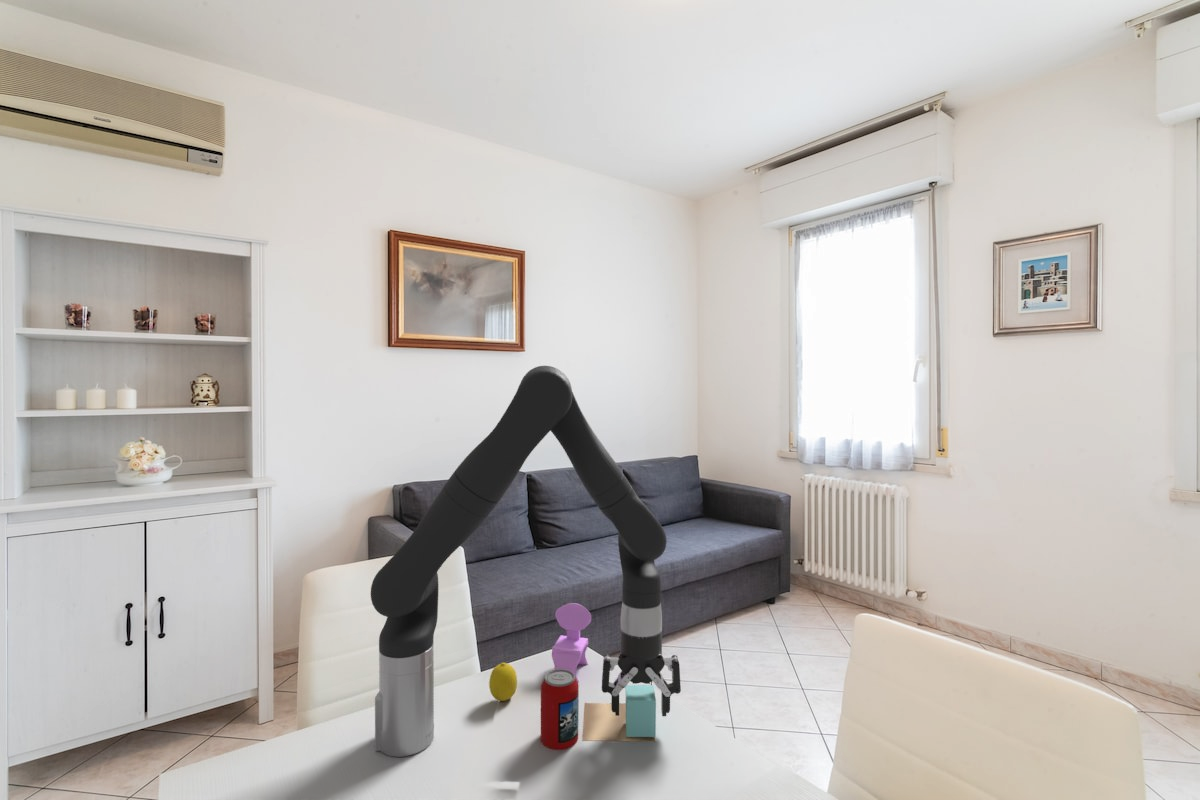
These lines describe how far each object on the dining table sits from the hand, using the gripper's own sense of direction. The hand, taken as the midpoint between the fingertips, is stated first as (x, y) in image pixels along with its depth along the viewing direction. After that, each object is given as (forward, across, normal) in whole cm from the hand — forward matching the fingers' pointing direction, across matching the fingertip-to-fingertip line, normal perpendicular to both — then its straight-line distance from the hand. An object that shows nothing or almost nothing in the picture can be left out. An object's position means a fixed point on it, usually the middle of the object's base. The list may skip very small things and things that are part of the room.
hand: (640, 713), depth 106 cm
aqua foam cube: (+3, 0, 0) cm, 3 cm away
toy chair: (+4, -14, +22) cm, 26 cm away
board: (+4, -4, +3) cm, 6 cm away
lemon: (+4, -27, +10) cm, 29 cm away
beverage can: (+4, -15, -2) cm, 15 cm away
